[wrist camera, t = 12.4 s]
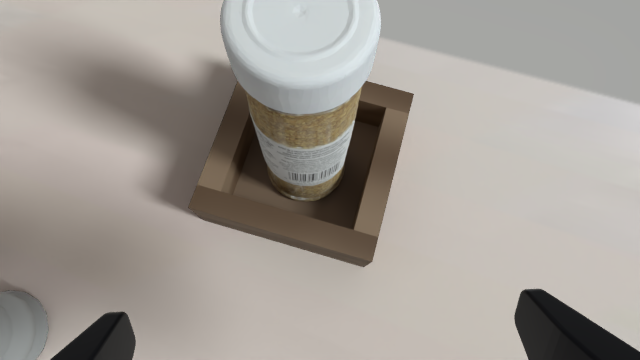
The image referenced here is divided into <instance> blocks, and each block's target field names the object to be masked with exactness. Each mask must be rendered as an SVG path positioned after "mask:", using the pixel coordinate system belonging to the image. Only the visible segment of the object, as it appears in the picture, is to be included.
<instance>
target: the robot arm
mask: <svg viewBox="0 0 640 360" xmlns="http://www.w3.org/2000/svg"><path fill="white" fill-rule="evenodd" d="M514 319H515V325H516V328H517V330H518V333H519V336H520V338H521V341H522V343H523V346H524V349H525V351H526V354H527V357H528V359H529V360H640V352H639V351H638V350H636V349H635V348H633V347H631V346H630V345H628V344H627V343H625V342H624V341H622V340H621V339H619V338H617V337H616V336H614V335H613V334H611V333H610V332H608V331H607V330H605V329H603V328H602V327H600V326H599V325H597V324H596V323H594V322H592V321H591V320H589V319H588V318H586V317H585V316H583V315H582V314H580V313H578V312H577V311H575V310H574V309H572V308H571V307H569V306H568V305H566V304H564V303H563V302H561V301H560V300H558V299H557V298H555V297H553V296H552V295H550V294H549V293H547V292H546V291H544V290H542V289H525V290H523V291H522V292H521V294H520V297H519V301H518V304H517V308H516V312H515V318H514ZM135 343H136V340H135V335H134V332H133V329H132V326H131V323H130V320H129V317H128V315H127V314H126V313H125V312H109V313H106V314H104V315H103V316H101V317H100V318H99V319H98V320H97V321H96V322H94V323H93V324H92V325H91V326H90V327H88V328H87V329H86V330H85V331H84V332H83V333H81V334H80V335H79V336H78V337H77V338H75V339H74V340H73V341H72V342H71V343H69V344H68V345H67V346H66V347H65V348H64V349H62V350H61V351H60V352H59V353H58V354H56V355H55V356H54V357H53V358H52V359H51V360H132V358H133V354H134V350H135Z"/></svg>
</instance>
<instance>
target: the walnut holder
mask: <svg viewBox="0 0 640 360" xmlns="http://www.w3.org/2000/svg"><path fill="white" fill-rule="evenodd" d="M413 95H414V94H412V93H409V92H405V91H401V90H397V89H394V88H390V87H386V86H383V85H379V84H375V83H371V82H368V81H365V83H364V84H363V85H362V89H361V94H360V98H359V102H358V108H357V112H356V118H355V123H354V127H353V131H352V136H351V139H350V143H349V147H348V150H347V154H346V158H345V171H344V175H343V177H342V180H341V181H340V183H339V185H338V186H337V187H336V188H335V189H334V190H333V191H332V192H331V193H330V194H329V195H327V196H326V197H324V198H321V199H319V200H316V201H309V202H304V201H296V200H292V199H290V198H288V197H286V196H284V195H283V194H281V193H280V192H279V191H278V190H277V189H276V188H275V187H274V186H273V184H272V182H271V180H270V178H269V175H268V171H267V163H266V161H265V159H264V156H263V153H262V150H261V146H260V143H259V140H258V137H257V133H256V130H255V127H254V124H253V121H252V118H251V115H250V111H249V105H248V100H247V96H246V92H245V90H244V88H243V87H242V86H241V85H240V83H239V82H237V84H236V87H235V89H234V92H233V94H232V97H231V99H230V102H229V105H228V107H227V110H226V112H225V115H224V117H223V120H222V122H221V125H220V127H219V130H218V133H217V135H216V138H215V140H214V143H213V145H212V148H211V150H210V153H209V156H208V158H207V161H206V163H205V166H204V168H203V171H202V173H201V176H200V178H199V181H198V184H197V186H196V189H195V191H194V194H193V196H192V199H191V201H190V204H189V207H188V208H189V209H190V210H192V211H193V212H194V213H195V214H197V215H198V216H199V217H200V218H202V219H203V220H205V221H209V222H212V223H215V224H219V225H222V226H226V227H229V228H232V229H236V230H239V231H243V232H246V233H249V234H253V235H256V236H260V237H263V238H266V239H270V240H273V241H277V242H280V243H283V244H287V245H290V246H293V247H297V248H300V249H304V250H307V251H310V252H314V253H317V254H321V255H324V256H327V257H331V258H334V259H338V260H341V261H344V262H348V263H351V264H355V265H358V266H361V267H365V266H366V265H368V264H369V263H371V262H372V260H373V256H374V252H375V248H376V244H377V240H378V236H379V232H380V228H381V224H382V220H383V216H384V212H385V208H386V204H387V200H388V196H389V192H390V188H391V184H392V180H393V176H394V172H395V168H396V164H397V159H398V155H399V151H400V147H401V143H402V139H403V135H404V131H405V127H406V123H407V119H408V115H409V111H410V107H411V103H412V99H413Z"/></svg>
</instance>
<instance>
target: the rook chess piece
mask: <svg viewBox="0 0 640 360" xmlns="http://www.w3.org/2000/svg"><path fill="white" fill-rule="evenodd" d="M47 334H48V321H47V313H46V312H45V310H44V308H43V307H42V305H41V304H40V302H39V300H37V299H36V298H34V297H32V296H31V295H29V294H27V293H26V292H20V291H9V290H8V291H5V292H0V360H36V359H37V358H38V356H39V355H40V353H41V352H42V350H43V349H44V346H45V342H46V338H47Z"/></svg>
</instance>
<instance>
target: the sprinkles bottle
mask: <svg viewBox="0 0 640 360" xmlns="http://www.w3.org/2000/svg"><path fill="white" fill-rule="evenodd" d="M220 25H221V33H222V38H223V42H224V45H225V49H226V52H227V55H228V58H229V61H230V64H231V67H232V70H233V72H234V74H235V77H236V79H237V80H238V82H239V83H240V85H241V86H242V87H243V88H244V90H245V92H246V96H247V100H248V105H249V111H250V115H251V118H252V121H253V124H254V127H255V130H256V133H257V137H258V140H259V143H260V146H261V150H262V153H263V156H264V159H265V161H266V163H267V171H268V175H269V178H270V180H271V182H272V184H273V186H274V187H275V188H276V189H277V190H278V191H279V192H280V193H281V194H283V195H284V196H286V197H288V198H290V199H292V200H296V201H304V202H309V201H316V200H319V199H321V198H324V197H326V196H327V195H329V194H330V193H331V192H332V191H333V190H334V189H335V188H336V187H337V186H338V185H339V183H340V181H341V180H342V177H343V175H344V171H345V158H346V154H347V150H348V147H349V143H350V139H351V136H352V131H353V127H354V123H355V118H356V112H357V108H358V102H359V98H360V94H361V89H362V85H363V84H364V83H365V81H366V80H367V78H368V76H369V74H370V72H371V69H372V66H373V62H374V58H375V54H376V50H377V45H378V40H379V35H380V27H381V19H380V9H379V5H378V2H377V0H224V2H223V5H222V8H221V15H220Z"/></svg>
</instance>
